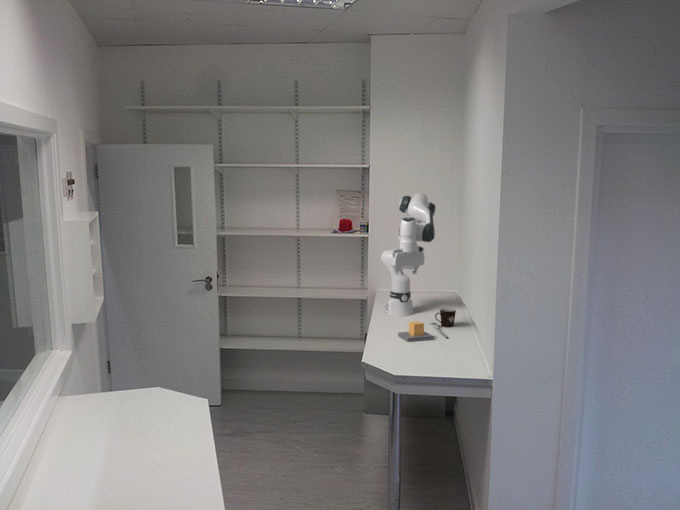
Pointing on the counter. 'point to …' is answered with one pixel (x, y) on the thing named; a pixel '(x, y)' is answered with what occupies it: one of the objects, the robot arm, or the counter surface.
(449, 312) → the coffee mug
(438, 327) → the caliper
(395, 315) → the robot arm
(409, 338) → the flat gray plate
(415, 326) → the tan wooden cube
